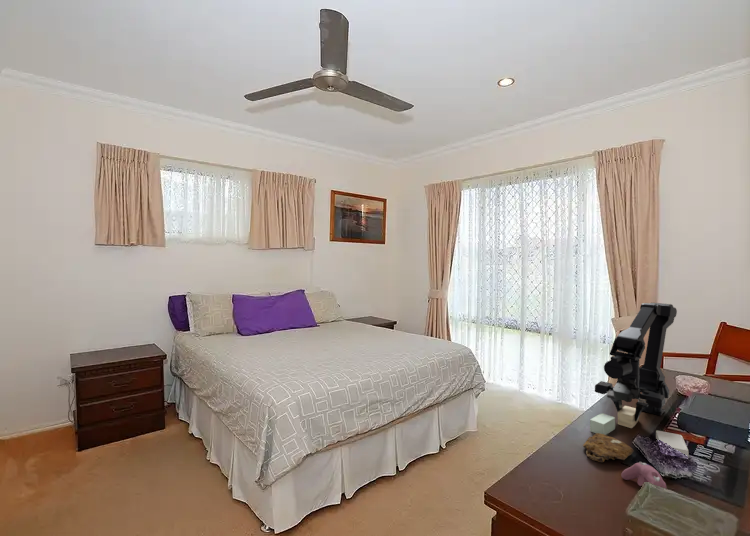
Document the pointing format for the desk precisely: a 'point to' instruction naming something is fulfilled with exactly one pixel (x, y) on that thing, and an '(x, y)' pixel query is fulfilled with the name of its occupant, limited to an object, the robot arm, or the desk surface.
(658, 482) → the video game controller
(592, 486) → the desk surface
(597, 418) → the sage brick
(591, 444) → the decorative rock
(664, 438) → the white brick
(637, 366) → the robot arm
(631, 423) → the birch brick
